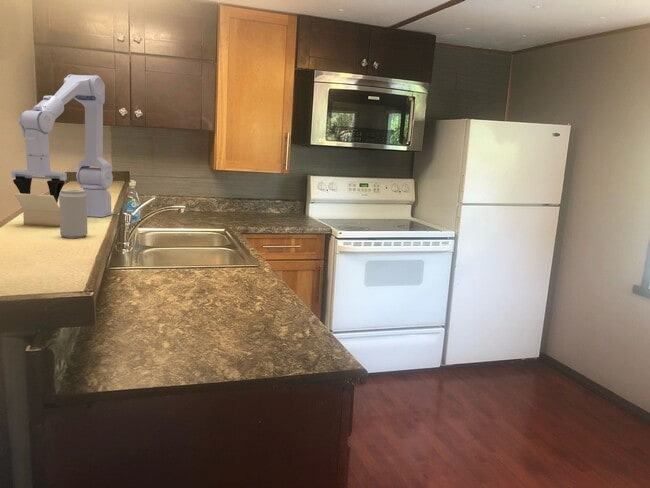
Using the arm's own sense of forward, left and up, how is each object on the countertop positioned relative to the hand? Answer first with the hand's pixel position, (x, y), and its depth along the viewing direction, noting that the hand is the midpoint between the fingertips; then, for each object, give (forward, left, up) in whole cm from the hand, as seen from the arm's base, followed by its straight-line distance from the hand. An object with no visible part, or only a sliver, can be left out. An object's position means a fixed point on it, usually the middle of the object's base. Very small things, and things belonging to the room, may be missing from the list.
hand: (40, 204), depth 152 cm
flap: (+1, 0, +1) cm, 2 cm away
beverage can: (+12, +15, -6) cm, 21 cm away
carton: (-4, 0, -6) cm, 7 cm away
